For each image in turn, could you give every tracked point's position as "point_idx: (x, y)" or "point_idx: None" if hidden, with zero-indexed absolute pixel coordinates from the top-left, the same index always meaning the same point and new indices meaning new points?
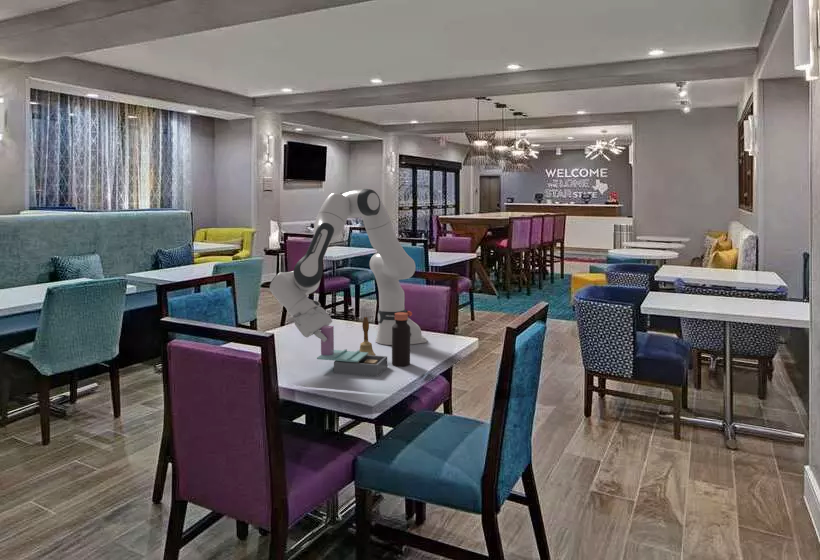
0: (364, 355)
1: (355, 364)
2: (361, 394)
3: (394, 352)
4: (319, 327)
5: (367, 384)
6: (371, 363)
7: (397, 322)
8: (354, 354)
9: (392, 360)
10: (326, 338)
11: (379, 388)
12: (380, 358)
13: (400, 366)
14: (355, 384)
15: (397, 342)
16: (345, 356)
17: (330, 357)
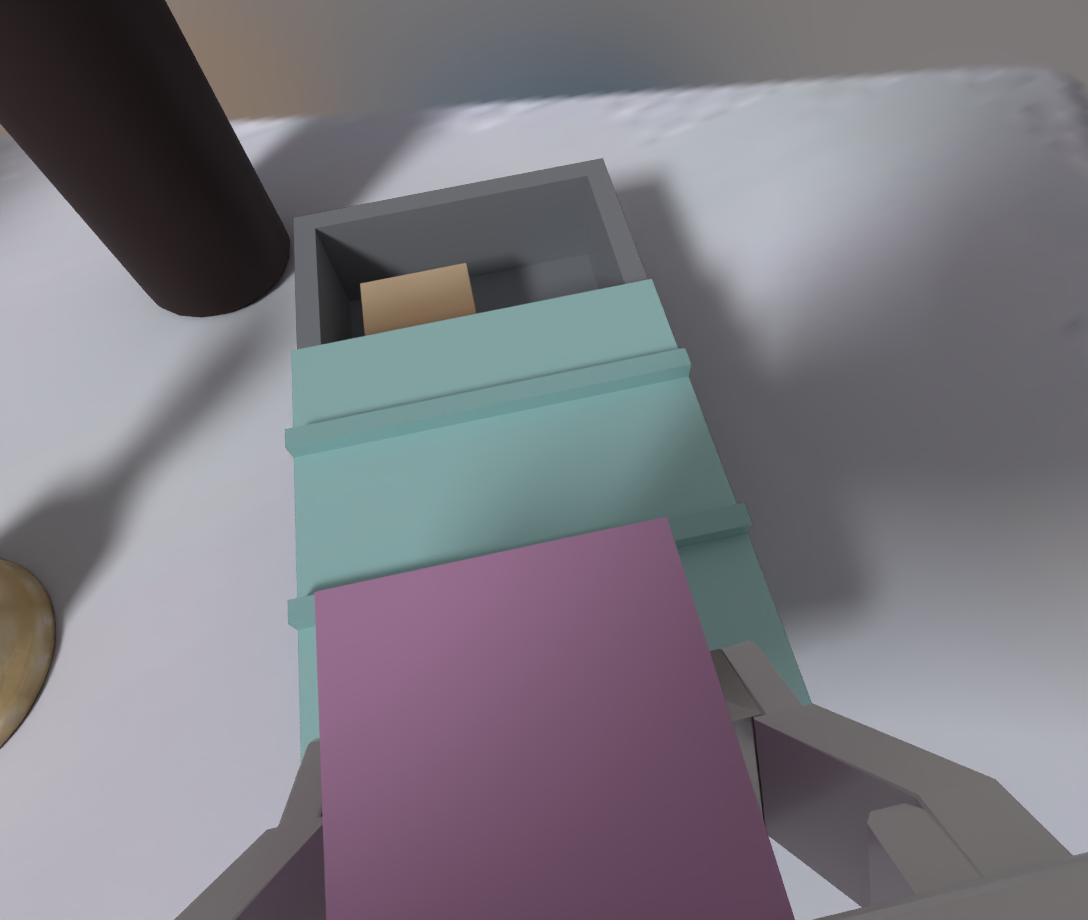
0: (422, 325)
1: None
2: (960, 180)
3: (220, 168)
4: (1000, 888)
5: (756, 244)
6: (471, 289)
7: None
8: (479, 393)
9: (237, 258)
10: (751, 643)
11: (778, 157)
12: (324, 271)
13: (282, 226)
14: (814, 304)
15: (175, 40)
16: (565, 469)
17: (715, 611)
